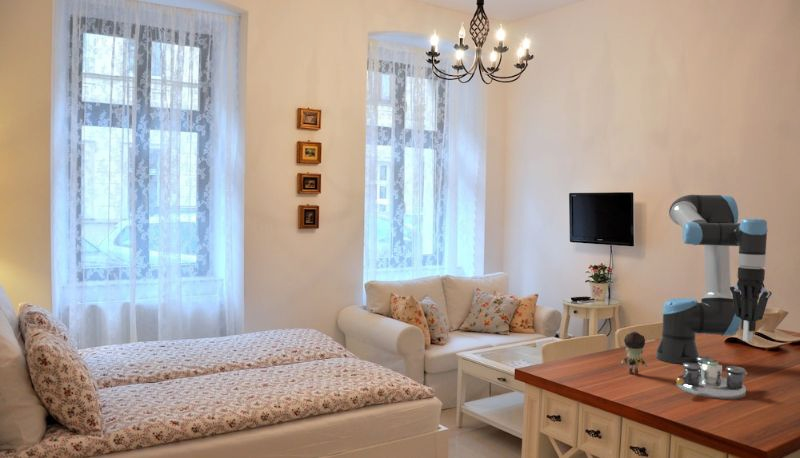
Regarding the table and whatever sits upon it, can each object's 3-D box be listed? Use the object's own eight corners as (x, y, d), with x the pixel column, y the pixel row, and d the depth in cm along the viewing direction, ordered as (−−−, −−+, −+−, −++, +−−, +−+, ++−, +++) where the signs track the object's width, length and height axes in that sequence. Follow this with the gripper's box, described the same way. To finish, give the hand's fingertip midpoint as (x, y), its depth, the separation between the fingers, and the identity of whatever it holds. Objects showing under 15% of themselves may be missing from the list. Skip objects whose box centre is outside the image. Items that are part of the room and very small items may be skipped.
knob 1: (685, 379, 205) (686, 361, 205) (702, 382, 202) (703, 364, 201) (669, 387, 196) (670, 369, 195) (687, 391, 192) (688, 372, 192)
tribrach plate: (667, 388, 203) (668, 361, 203) (689, 376, 217) (690, 351, 217) (734, 403, 189) (735, 374, 189) (753, 389, 203) (755, 363, 203)
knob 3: (741, 390, 195) (742, 371, 194) (722, 386, 198) (723, 368, 198) (752, 381, 204) (753, 363, 204) (735, 378, 208) (736, 360, 208)
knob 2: (709, 378, 207) (710, 361, 206) (693, 375, 210) (694, 358, 210) (723, 371, 216) (724, 354, 216) (707, 368, 220) (708, 351, 219)
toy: (647, 372, 221) (649, 330, 220) (646, 378, 214) (648, 334, 213) (621, 369, 225) (622, 327, 224) (619, 374, 218) (620, 331, 217)
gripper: (778, 269, 196) (774, 344, 197) (740, 264, 207) (736, 335, 209) (763, 270, 192) (759, 346, 194) (725, 265, 204) (721, 337, 205)
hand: (747, 340), depth 201 cm, fingers closed
